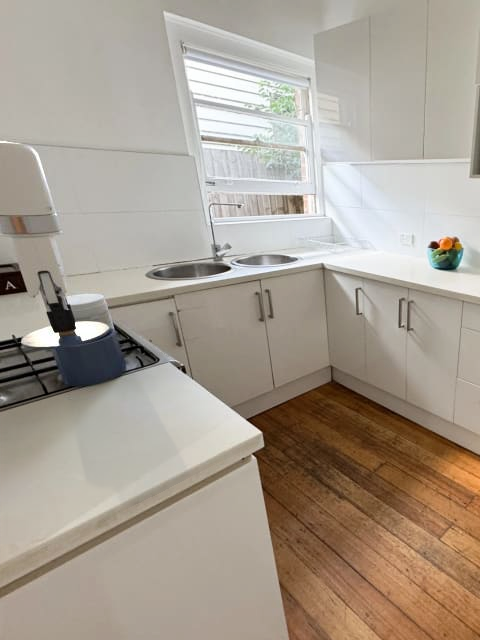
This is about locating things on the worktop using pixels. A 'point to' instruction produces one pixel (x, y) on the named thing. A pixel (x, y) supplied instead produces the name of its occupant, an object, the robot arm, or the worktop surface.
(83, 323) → the lid
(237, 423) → the worktop surface
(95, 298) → the supplement tub
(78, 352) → the tin
